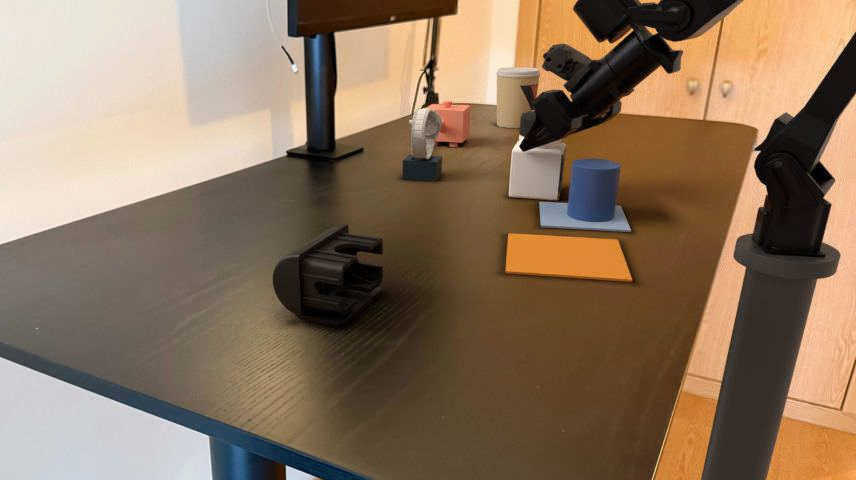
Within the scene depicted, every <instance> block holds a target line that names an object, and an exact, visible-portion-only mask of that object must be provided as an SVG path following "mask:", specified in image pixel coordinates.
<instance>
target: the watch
mask: <svg viewBox="0 0 856 480" xmlns="http://www.w3.org/2000/svg"><path fill="white" fill-rule="evenodd" d="M408 123H409V126H410V125H411V137H410V145H411V146H410V151H411V154H408V155H407V156H406V157H405V158H403V159H402V180H407V181H423V182H437V181H438V180H439V179H440V178H441V177H442V175H443V173H442V172H443V156H442V155H433V152H434V148H435V146H434V143H435V139H437V137H438V134H439V131H440V128H441V126H442V118H441V116H440V114H438V113H437V112H436V111H435V110H432V109H428V108H426V107H423V108H416V109H415V110H414V112H413V116H412V119H410V120H409V122H408Z"/></svg>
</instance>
